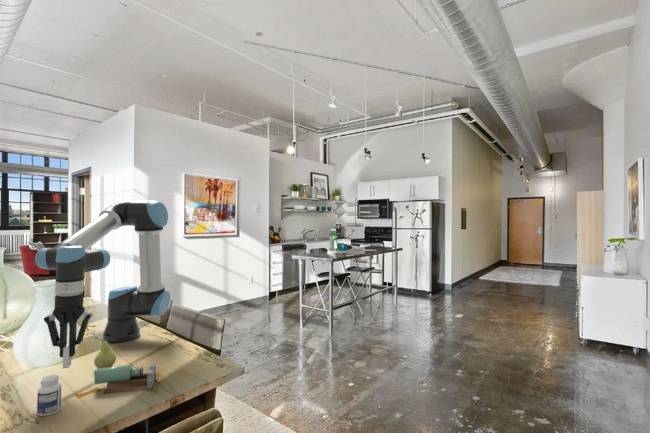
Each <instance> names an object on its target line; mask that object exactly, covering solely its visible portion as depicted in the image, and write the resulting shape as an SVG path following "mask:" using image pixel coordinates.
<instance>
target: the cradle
mask: <svg viewBox="0 0 650 433" xmlns="http://www.w3.org/2000/svg"><path fill="white" fill-rule="evenodd" d="M156 378H157V362H156V361H155V362H151V364H150V367H149V368H148V371H147V372H143V376H132V377H131V380H126V381H117V382H108V383H106V387H105V389H104V390H103V394H110V393H111V394H112V393H120V392H128V391H129V392H130V391H137V390H139V391H140V390H148V389H152V388H153V385H154V383H155V379H156Z"/></svg>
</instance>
